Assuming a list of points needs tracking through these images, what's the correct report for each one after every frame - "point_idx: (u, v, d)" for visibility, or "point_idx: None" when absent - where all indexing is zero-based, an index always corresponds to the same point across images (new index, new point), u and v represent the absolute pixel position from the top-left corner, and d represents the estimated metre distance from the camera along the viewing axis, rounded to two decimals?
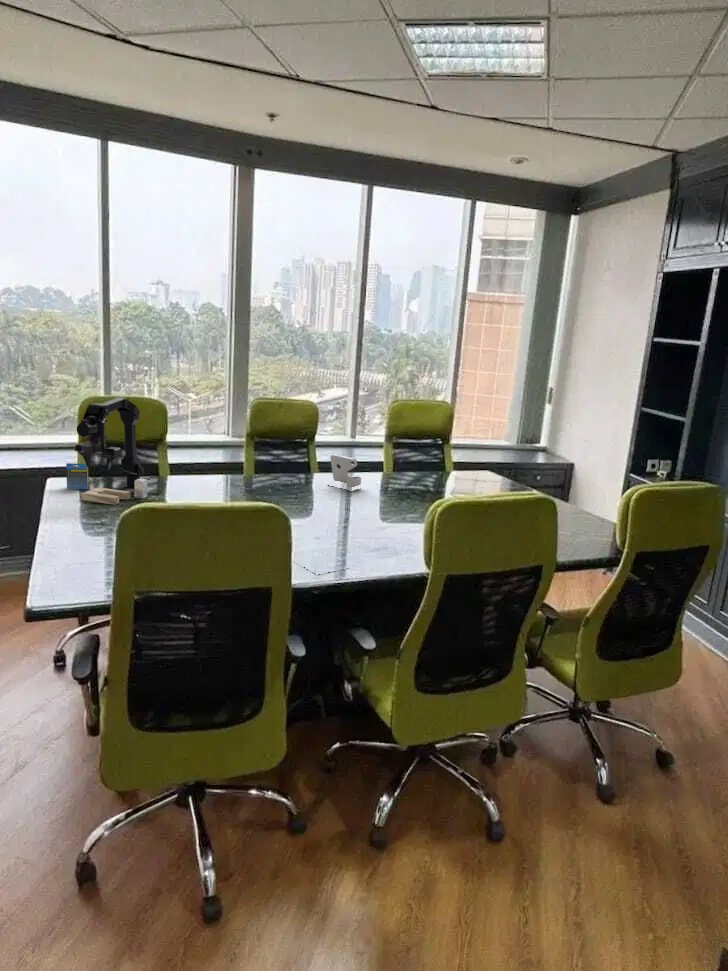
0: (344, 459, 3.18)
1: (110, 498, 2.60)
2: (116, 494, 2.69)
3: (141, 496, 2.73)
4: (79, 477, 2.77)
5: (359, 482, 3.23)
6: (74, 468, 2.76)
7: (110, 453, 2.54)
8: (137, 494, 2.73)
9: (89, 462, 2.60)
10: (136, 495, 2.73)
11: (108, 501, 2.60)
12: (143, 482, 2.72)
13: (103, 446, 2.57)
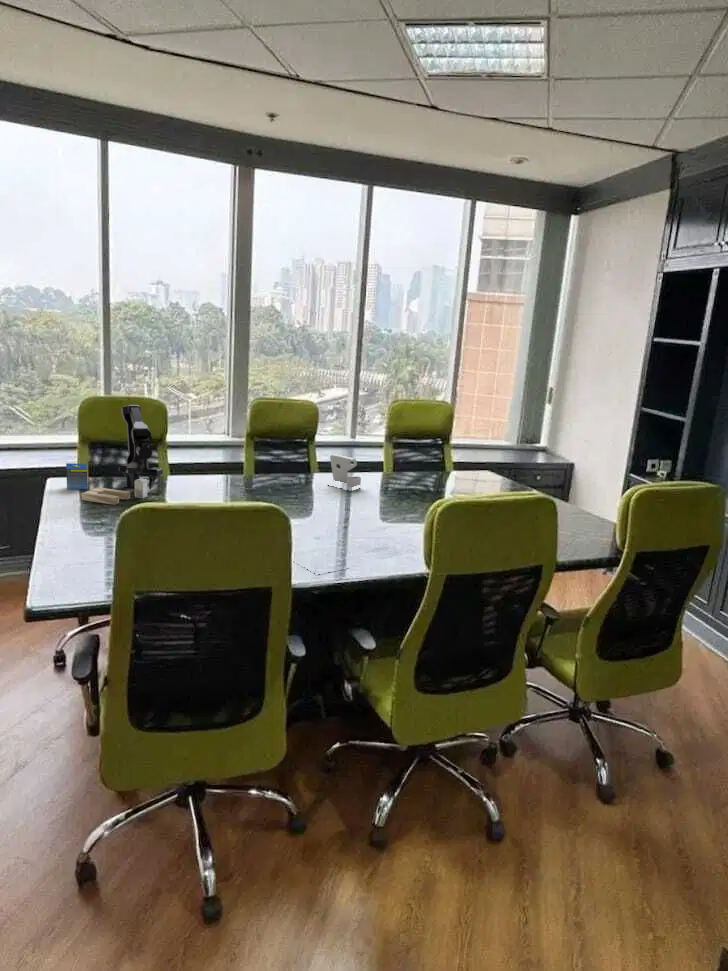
0: (344, 459, 3.18)
1: (110, 498, 2.60)
2: (116, 494, 2.69)
3: (141, 496, 2.73)
4: (79, 477, 2.77)
5: (359, 482, 3.23)
6: (74, 468, 2.76)
7: (153, 473, 2.68)
8: (137, 494, 2.73)
9: (132, 481, 2.75)
10: (136, 495, 2.73)
11: (108, 501, 2.60)
12: (143, 482, 2.72)
13: (146, 467, 2.71)
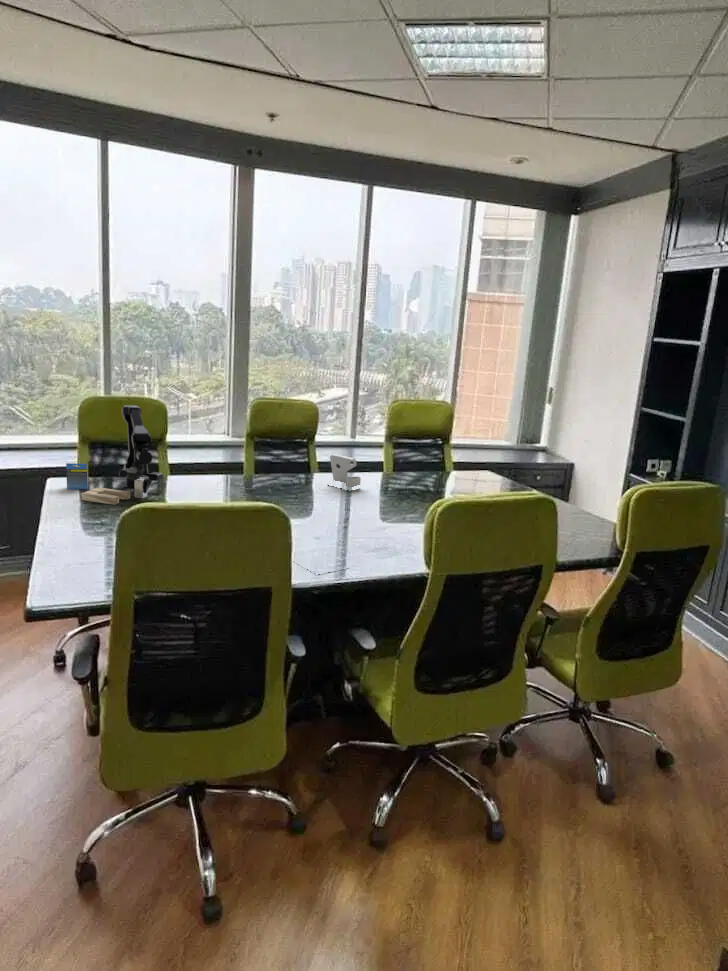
0: (343, 459, 3.18)
1: (110, 498, 2.60)
2: (116, 494, 2.69)
3: (141, 496, 2.73)
4: (79, 477, 2.77)
5: (359, 482, 3.23)
6: (74, 468, 2.76)
7: (153, 478, 2.69)
8: (137, 494, 2.73)
9: None
10: (136, 495, 2.73)
11: (108, 501, 2.60)
12: (143, 482, 2.72)
13: (146, 471, 2.72)
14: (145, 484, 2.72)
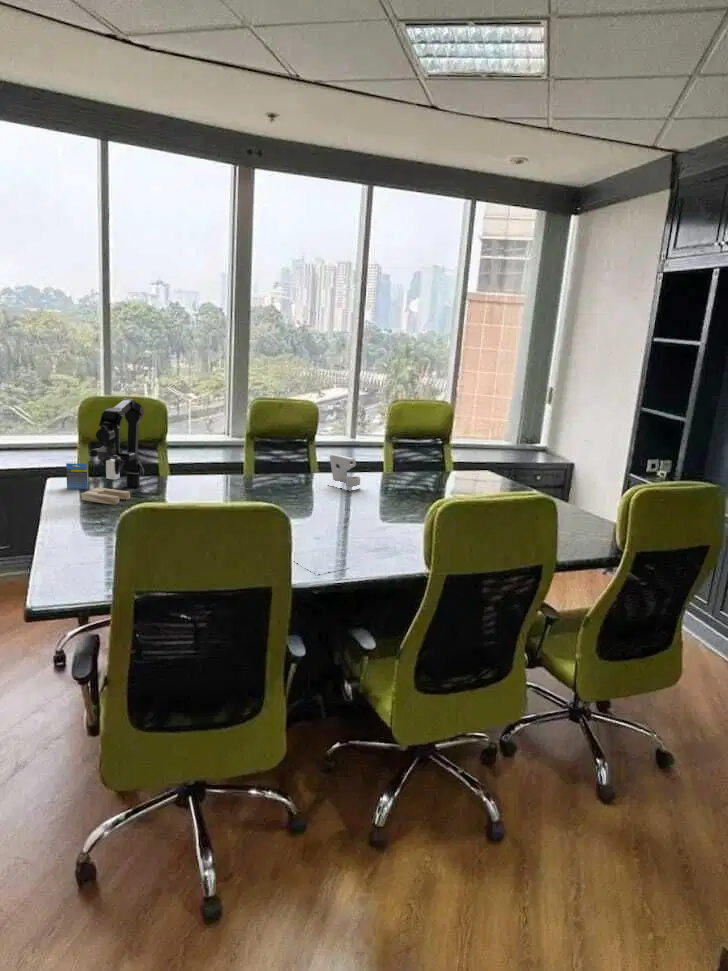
0: (343, 459, 3.18)
1: (110, 498, 2.60)
2: (116, 494, 2.69)
3: (113, 477, 2.62)
4: (79, 477, 2.77)
5: (358, 482, 3.23)
6: (74, 468, 2.76)
7: (125, 458, 2.58)
8: (108, 475, 2.62)
9: None
10: (108, 476, 2.62)
11: (108, 501, 2.60)
12: (115, 462, 2.61)
13: (118, 451, 2.61)
14: (117, 464, 2.61)
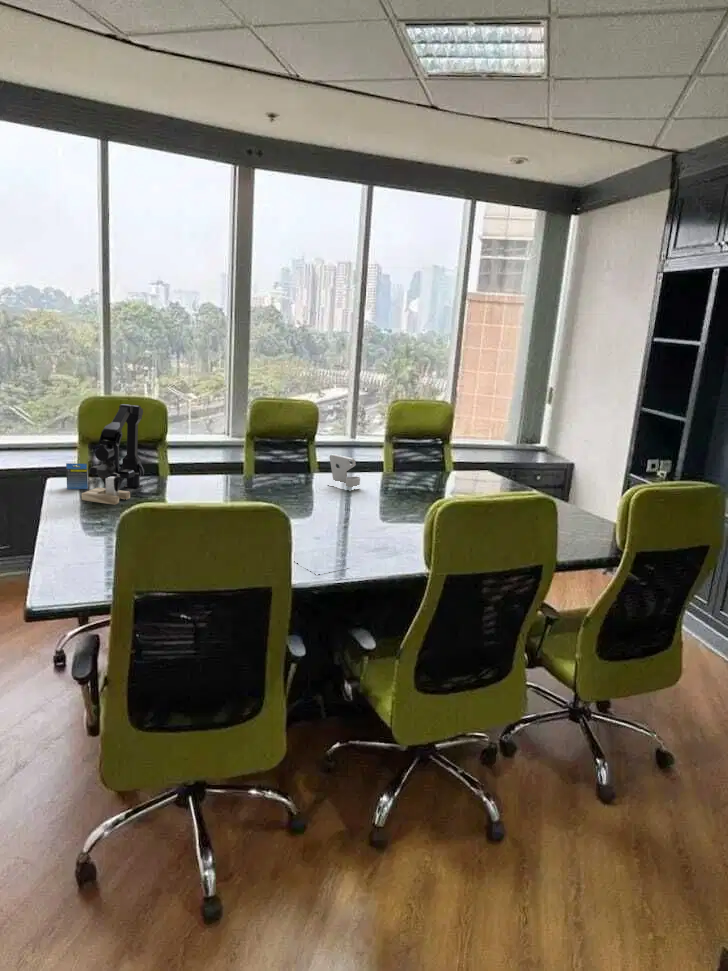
0: (343, 459, 3.18)
1: (110, 498, 2.60)
2: None
3: (112, 494, 2.64)
4: (79, 477, 2.77)
5: (358, 482, 3.23)
6: (74, 468, 2.76)
7: (124, 476, 2.60)
8: (108, 493, 2.64)
9: None
10: (107, 493, 2.64)
11: (108, 501, 2.60)
12: (114, 480, 2.63)
13: (117, 469, 2.63)
14: (116, 482, 2.63)
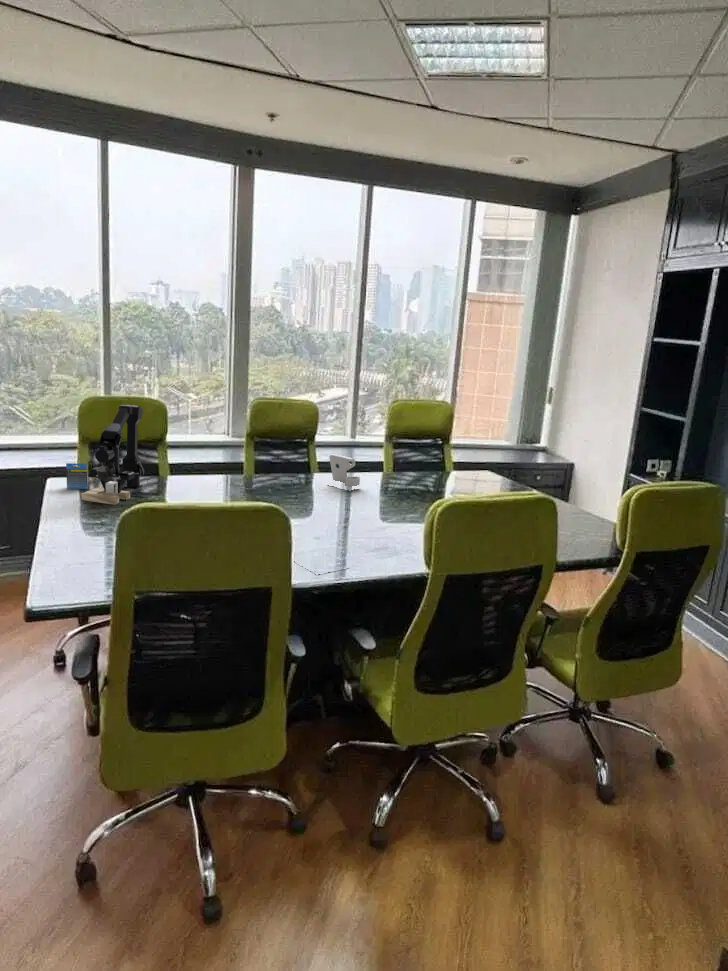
0: (342, 459, 3.18)
1: (110, 498, 2.60)
2: None
3: None
4: (79, 477, 2.77)
5: (358, 482, 3.23)
6: (74, 468, 2.76)
7: (124, 477, 2.60)
8: None
9: None
10: None
11: (108, 501, 2.60)
12: (114, 485, 2.63)
13: (117, 470, 2.63)
14: (118, 484, 2.63)
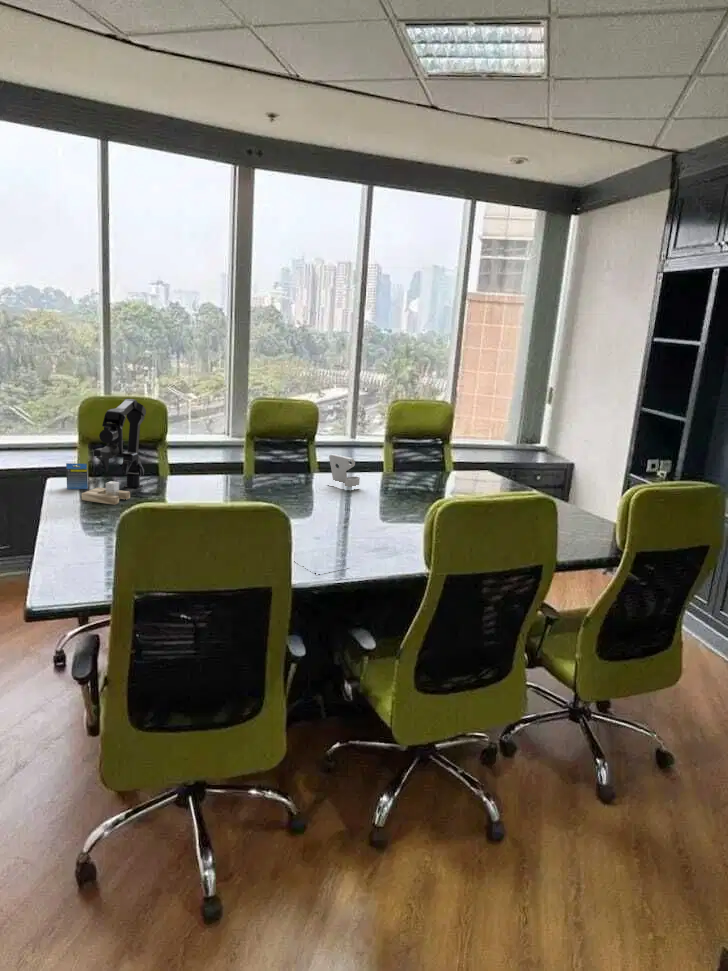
0: (342, 459, 3.18)
1: (110, 498, 2.60)
2: None
3: None
4: (79, 477, 2.77)
5: (357, 482, 3.23)
6: (74, 468, 2.76)
7: (128, 458, 2.61)
8: None
9: (107, 466, 2.68)
10: None
11: (108, 501, 2.60)
12: (114, 485, 2.63)
13: (121, 451, 2.64)
14: (125, 465, 2.64)
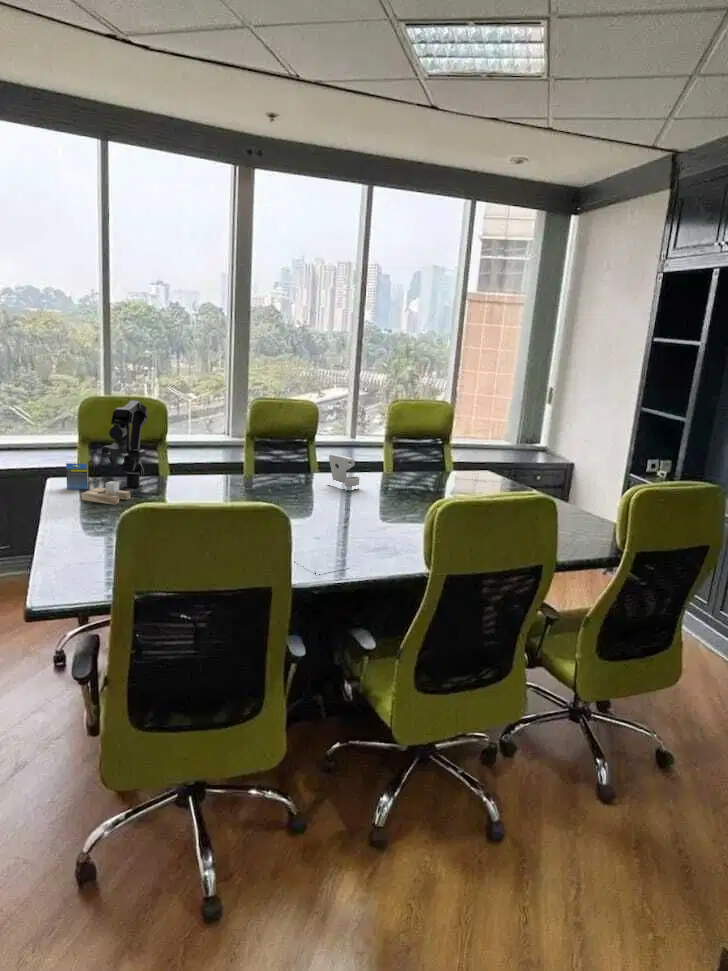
0: (342, 459, 3.18)
1: (110, 498, 2.60)
2: None
3: None
4: (79, 477, 2.77)
5: (357, 482, 3.23)
6: (74, 468, 2.76)
7: (135, 455, 2.66)
8: None
9: (115, 463, 2.73)
10: None
11: (108, 501, 2.60)
12: (114, 485, 2.63)
13: (128, 448, 2.69)
14: (132, 462, 2.69)
